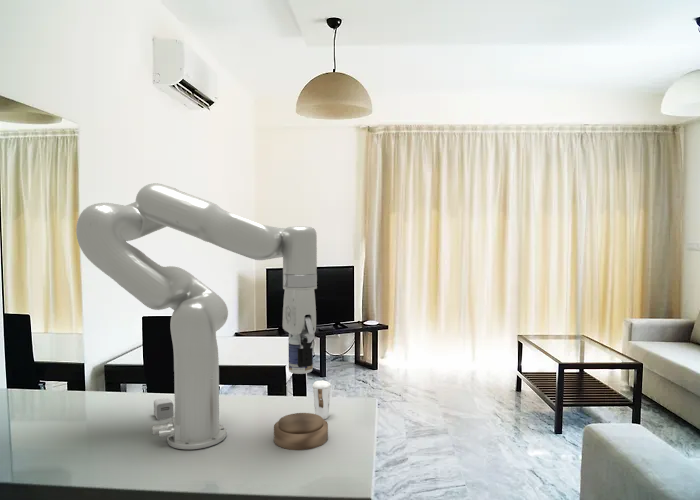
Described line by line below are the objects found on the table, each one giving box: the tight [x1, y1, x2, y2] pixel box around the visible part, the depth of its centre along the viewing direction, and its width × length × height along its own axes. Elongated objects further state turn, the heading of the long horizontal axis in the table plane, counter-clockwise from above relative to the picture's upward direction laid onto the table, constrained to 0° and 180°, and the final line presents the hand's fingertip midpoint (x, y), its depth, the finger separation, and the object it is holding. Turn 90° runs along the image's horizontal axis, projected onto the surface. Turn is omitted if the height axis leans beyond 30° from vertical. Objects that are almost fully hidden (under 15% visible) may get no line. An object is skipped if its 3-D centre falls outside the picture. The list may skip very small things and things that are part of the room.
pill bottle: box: [287, 331, 314, 375], centre depth 108 cm, size 5×5×10 cm
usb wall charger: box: [153, 397, 174, 421], centre depth 124 cm, size 4×7×4 cm, turn 31°
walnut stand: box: [273, 412, 329, 451], centre depth 108 cm, size 12×12×4 cm
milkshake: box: [312, 377, 335, 420], centre depth 121 cm, size 5×5×10 cm
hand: (300, 362), depth 108 cm, fingers closed on pill bottle, 5 cm apart
